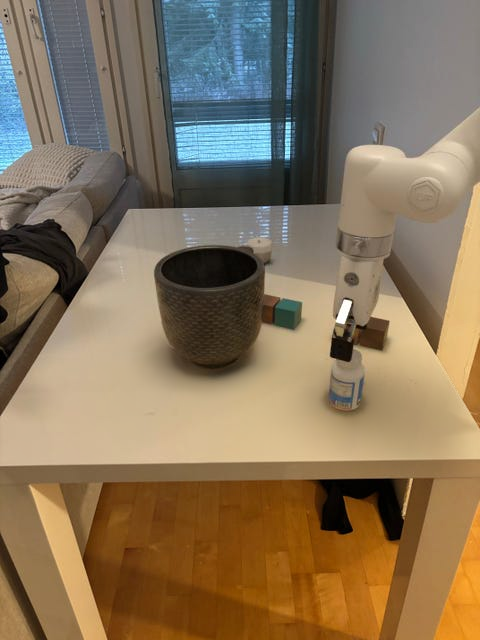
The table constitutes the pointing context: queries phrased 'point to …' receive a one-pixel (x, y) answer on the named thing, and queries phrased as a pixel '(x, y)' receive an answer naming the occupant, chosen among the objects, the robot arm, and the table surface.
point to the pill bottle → (347, 382)
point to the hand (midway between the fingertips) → (348, 342)
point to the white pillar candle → (261, 247)
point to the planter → (211, 302)
